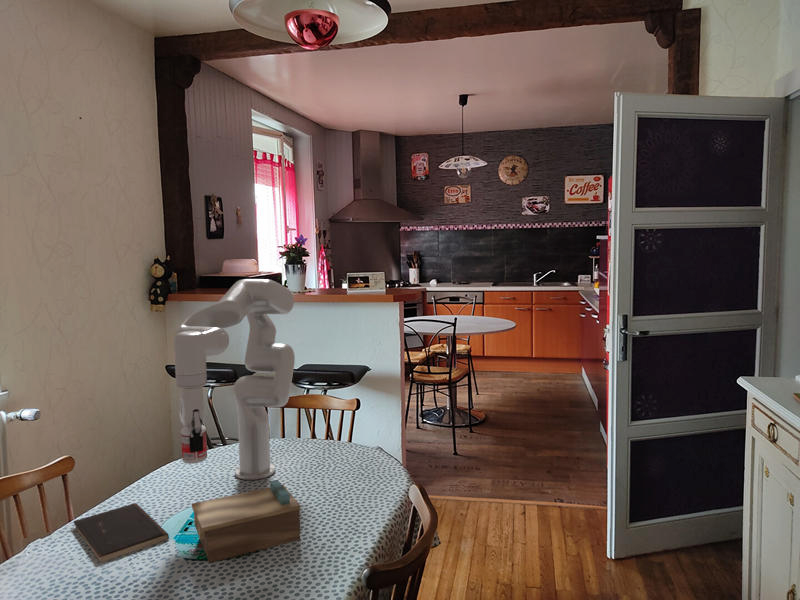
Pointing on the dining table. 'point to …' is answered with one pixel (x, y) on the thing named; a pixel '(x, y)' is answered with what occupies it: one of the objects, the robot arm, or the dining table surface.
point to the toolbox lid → (243, 507)
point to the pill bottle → (186, 454)
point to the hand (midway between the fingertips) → (194, 446)
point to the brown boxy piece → (251, 536)
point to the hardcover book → (120, 531)
